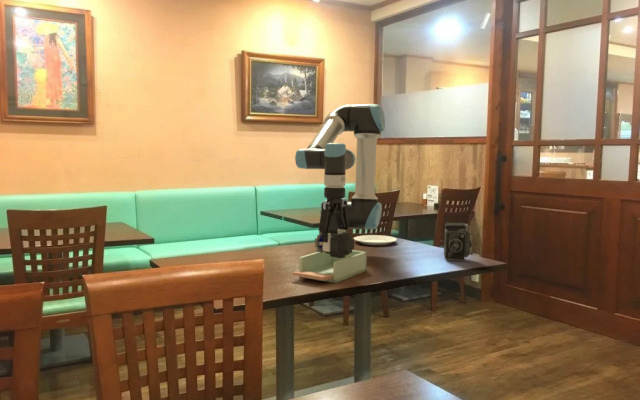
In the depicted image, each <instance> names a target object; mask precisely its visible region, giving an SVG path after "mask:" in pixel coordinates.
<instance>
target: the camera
mask: <svg viewBox="0 0 640 400" xmlns="http://www.w3.org/2000/svg"><path fill="white" fill-rule="evenodd" d="M444 227H445V229H444V237H443V238H444V241H443V247H444V248H443V255H444V259H445V260H446V261H447V262H448V261H457V262H459V261H460V262H465V258H468V257H469V256H471V254H472V247H473V246H472V244H473V243H472V234H471V233H470V232H469V230H470V229H469V228H470V225H468V224H467V223H465V222H445V224H444Z"/></svg>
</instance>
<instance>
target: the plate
mask: <svg viewBox="0 0 640 400" xmlns="http://www.w3.org/2000/svg"><path fill="white" fill-rule="evenodd" d="M353 239H354V241H357V242H359V243H360V244H362V245H368V246H386V245H389V244H391V243H394V242H396V241H397V240H398V238H397V237H394V236H390V235H389V236H388V235H380V234H378V235H377V234H367V235H365V234H364V235H359V236H358V235H357V236H354V237H353Z"/></svg>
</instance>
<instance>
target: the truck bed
mask: <svg viewBox="0 0 640 400" xmlns="http://www.w3.org/2000/svg"><path fill="white" fill-rule="evenodd" d="M367 257H368V252H367V251H363V250H362V251H361V250H355V249H353V250H352V253H349V255H345V258H337V257H331V256H330V254H326V252H322V253H320V252H319V251H317V252H313V253H310V254H305V255H302V256H299V261H298V262H299V264H298V265H299V267H298V268H299V269H298V271H308V272H314V273H320V274H326V275H332V276H333V279H328V280H318V279H313V278H307V277H301V276H298V277H299V278H304V279H309V280H310V279H311V280H314V281H315V280H316V281H321V282H326V283H327V282H328V283H333V284H337V283H339V282H342V281H344V280H347V279H349V278H352V277H355V276H358V275H359V274H362V273H364V272H367V267H368V264H367V263H368V258H367Z"/></svg>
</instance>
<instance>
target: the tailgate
mask: <svg viewBox="0 0 640 400" xmlns="http://www.w3.org/2000/svg"><path fill="white" fill-rule="evenodd" d="M292 276H297V277H299V276H301V277H300V278H303V277H307V278H306V279H309V278H313V279H312V280H315V279H318V280H317V281H320V280H328V279H333V276H332V275H326V274H320V273H314V272H308V271H299V270H298V271H293V272H292Z"/></svg>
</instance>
